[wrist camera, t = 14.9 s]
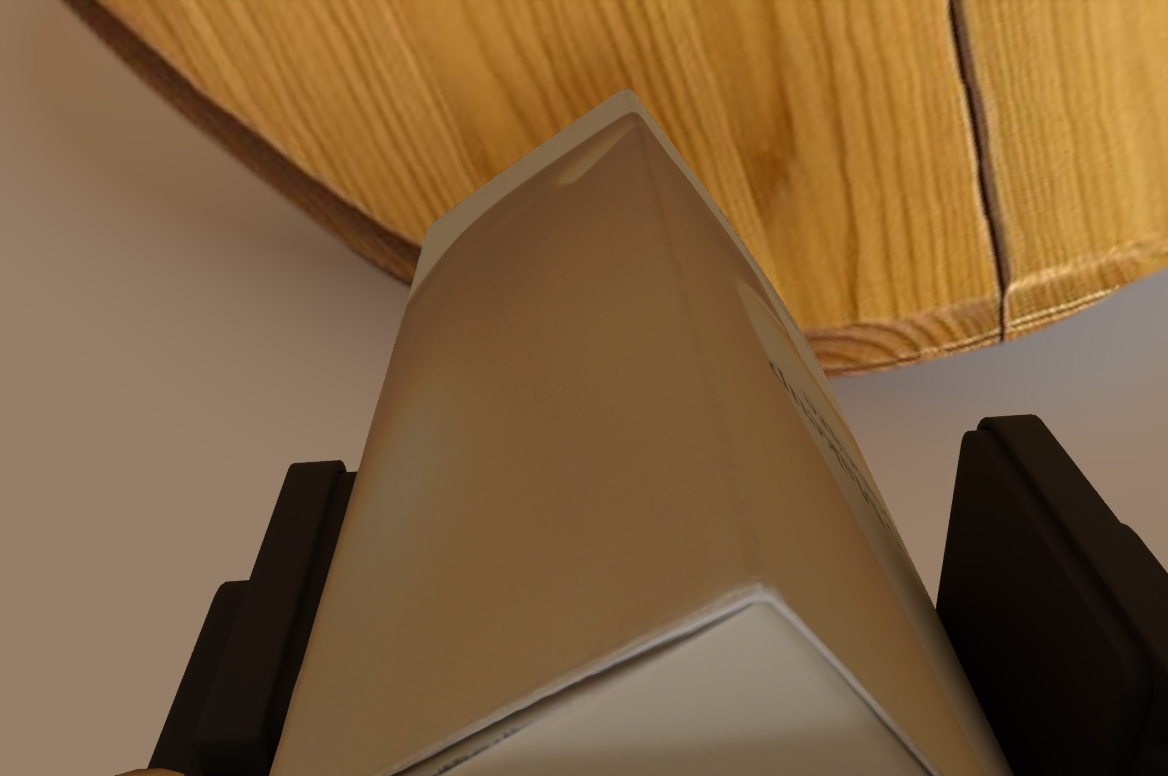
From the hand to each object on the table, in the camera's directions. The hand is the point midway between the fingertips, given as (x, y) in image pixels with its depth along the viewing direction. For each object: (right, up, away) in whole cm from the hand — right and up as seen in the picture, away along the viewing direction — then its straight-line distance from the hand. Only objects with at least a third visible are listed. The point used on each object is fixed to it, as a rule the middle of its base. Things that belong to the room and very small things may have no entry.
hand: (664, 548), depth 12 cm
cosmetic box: (0, +4, +6) cm, 7 cm away
